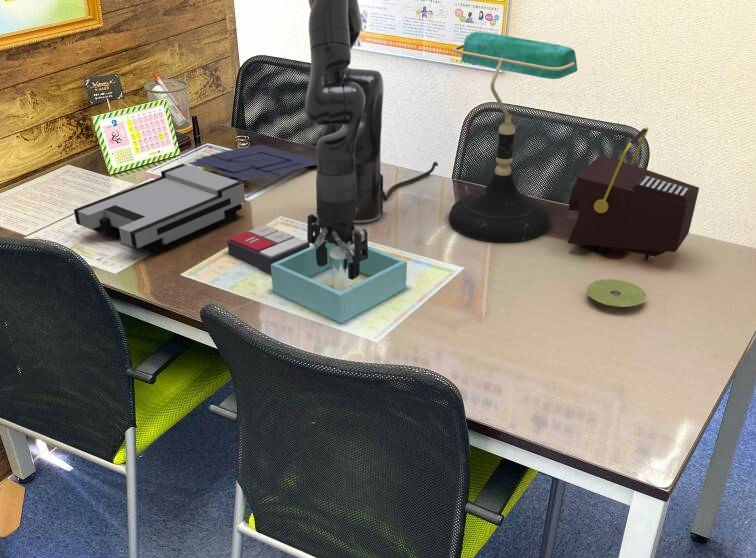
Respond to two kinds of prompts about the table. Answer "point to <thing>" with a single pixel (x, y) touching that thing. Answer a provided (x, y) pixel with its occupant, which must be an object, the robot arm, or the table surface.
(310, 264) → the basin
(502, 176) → the banker's lamp
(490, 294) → the table surface
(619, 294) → the green flat disc
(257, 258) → the red and gray box
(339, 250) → the milkshake
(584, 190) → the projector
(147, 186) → the game console
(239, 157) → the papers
